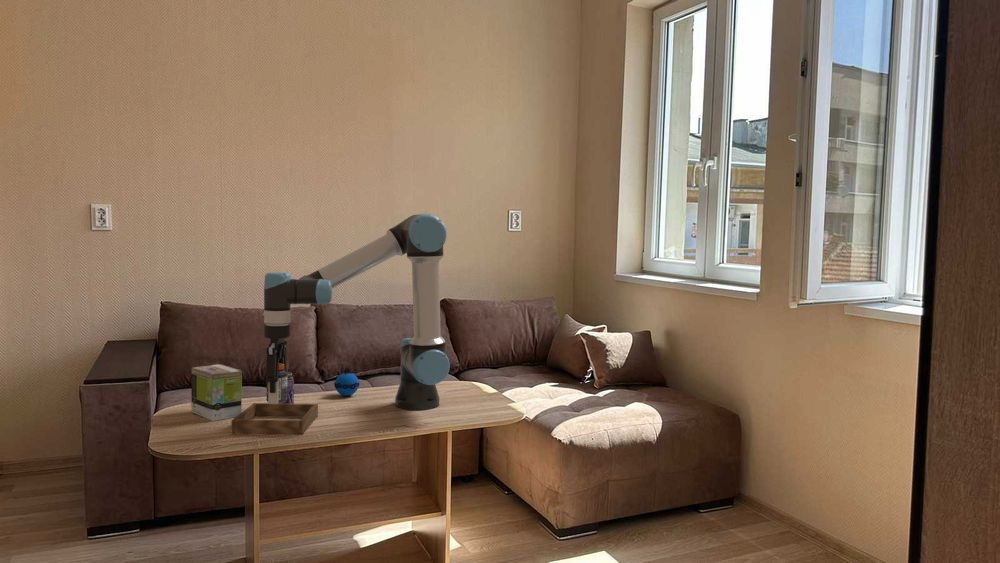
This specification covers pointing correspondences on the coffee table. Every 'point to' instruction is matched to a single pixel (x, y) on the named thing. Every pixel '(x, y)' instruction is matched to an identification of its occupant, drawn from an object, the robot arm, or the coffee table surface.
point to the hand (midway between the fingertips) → (276, 400)
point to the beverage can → (290, 389)
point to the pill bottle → (281, 384)
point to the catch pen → (275, 427)
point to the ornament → (346, 383)
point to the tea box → (216, 392)
